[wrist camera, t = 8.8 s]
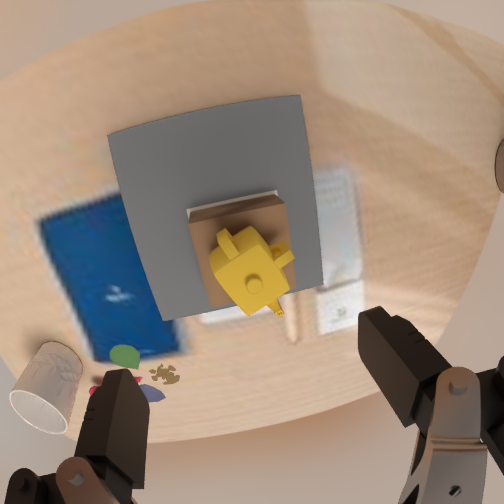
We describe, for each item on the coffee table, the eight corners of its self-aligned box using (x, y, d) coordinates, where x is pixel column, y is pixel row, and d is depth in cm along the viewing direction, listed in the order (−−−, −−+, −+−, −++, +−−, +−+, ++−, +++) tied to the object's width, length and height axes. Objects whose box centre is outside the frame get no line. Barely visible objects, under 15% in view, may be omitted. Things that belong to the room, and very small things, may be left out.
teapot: (303, 271, 27) (323, 299, 22) (249, 305, 27) (259, 340, 23) (255, 197, 24) (268, 214, 19) (196, 238, 24) (194, 264, 20)
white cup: (28, 337, 31) (-2, 387, 21) (73, 336, 31) (46, 392, 22) (51, 380, 34) (31, 430, 24) (95, 380, 34) (79, 437, 25)
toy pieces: (143, 413, 38) (140, 436, 34) (82, 372, 34) (74, 395, 30) (198, 379, 37) (199, 404, 33) (133, 329, 33) (126, 353, 29)
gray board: (297, 95, 26) (300, 94, 25) (320, 281, 33) (323, 284, 33) (109, 135, 24) (106, 135, 23) (163, 317, 32) (163, 321, 31)
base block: (274, 193, 28) (285, 203, 24) (285, 269, 31) (296, 287, 28) (190, 211, 27) (188, 224, 24) (209, 286, 31) (210, 307, 27)
